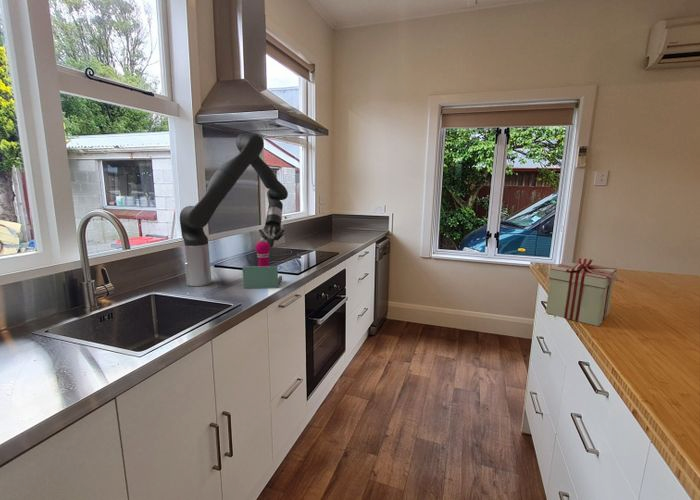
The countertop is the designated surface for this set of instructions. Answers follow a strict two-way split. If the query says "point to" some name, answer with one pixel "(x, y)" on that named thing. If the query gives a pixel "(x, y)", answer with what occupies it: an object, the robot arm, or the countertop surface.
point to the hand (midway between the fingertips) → (270, 246)
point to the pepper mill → (263, 252)
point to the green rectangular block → (261, 277)
